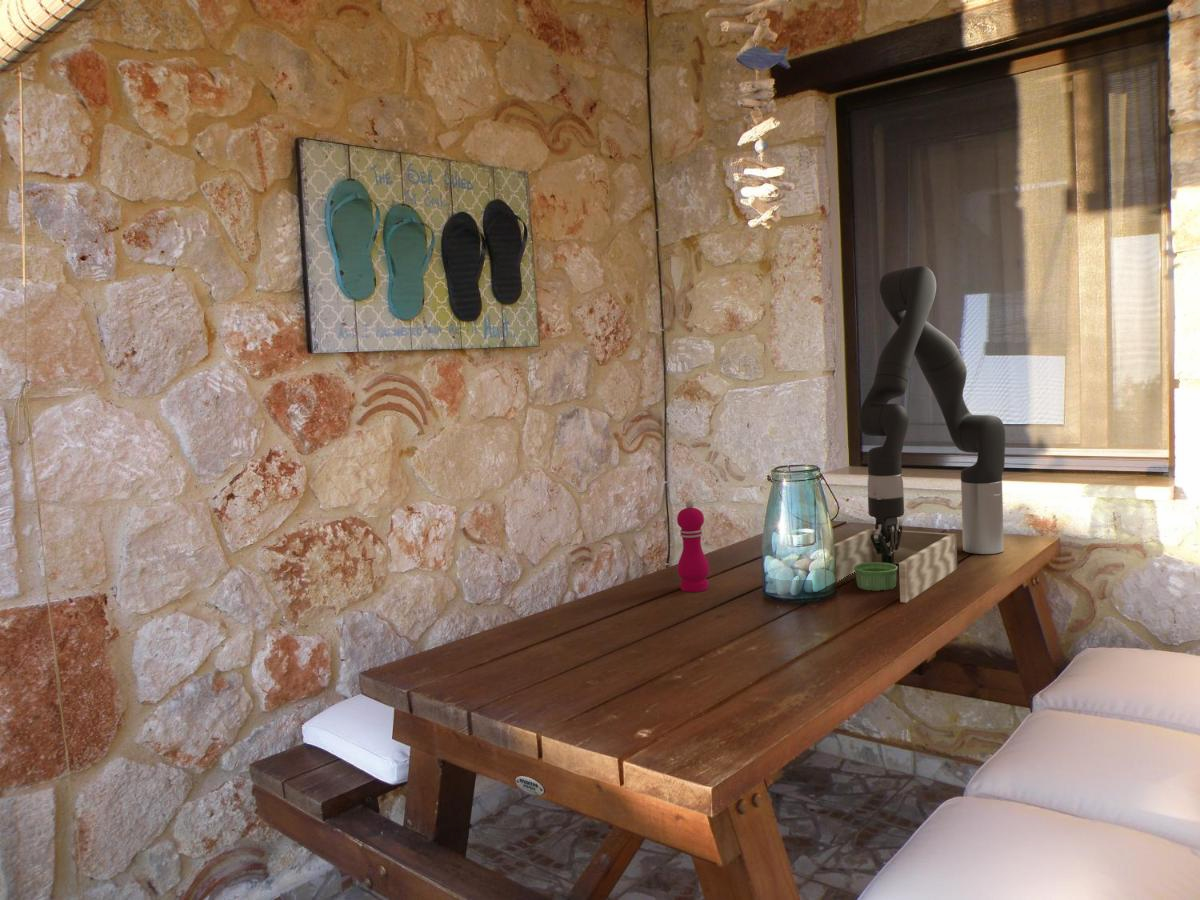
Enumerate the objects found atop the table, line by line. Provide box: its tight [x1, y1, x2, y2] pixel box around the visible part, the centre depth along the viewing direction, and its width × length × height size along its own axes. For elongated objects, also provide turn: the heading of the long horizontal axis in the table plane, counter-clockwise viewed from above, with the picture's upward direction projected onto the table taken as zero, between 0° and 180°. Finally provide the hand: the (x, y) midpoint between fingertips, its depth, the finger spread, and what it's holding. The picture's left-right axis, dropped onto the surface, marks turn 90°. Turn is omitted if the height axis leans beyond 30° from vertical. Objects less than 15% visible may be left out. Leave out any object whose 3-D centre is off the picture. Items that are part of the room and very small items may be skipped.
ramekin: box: [854, 562, 899, 592], centre depth 196 cm, size 9×9×4 cm
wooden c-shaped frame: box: [833, 528, 958, 604], centre depth 201 cm, size 32×20×8 cm, turn 141°
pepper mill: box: [676, 500, 711, 593], centre depth 204 cm, size 7×7×20 cm
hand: (888, 571), depth 202 cm, fingers closed
